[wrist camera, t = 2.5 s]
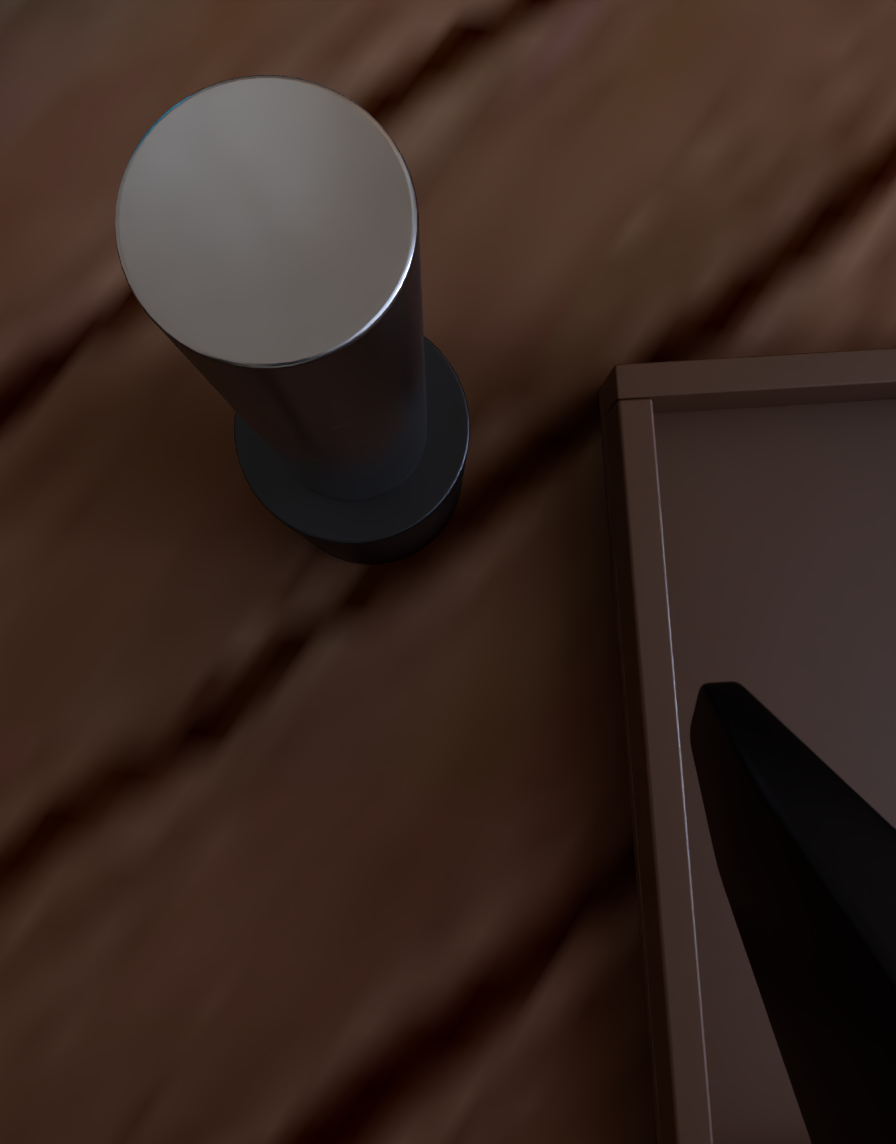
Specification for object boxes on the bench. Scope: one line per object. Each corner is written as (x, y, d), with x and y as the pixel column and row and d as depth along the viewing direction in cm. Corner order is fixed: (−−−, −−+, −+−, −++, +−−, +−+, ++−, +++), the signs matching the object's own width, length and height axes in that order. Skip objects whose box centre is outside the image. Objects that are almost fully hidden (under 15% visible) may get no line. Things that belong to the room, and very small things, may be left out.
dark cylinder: (467, 558, 21) (522, 439, 8) (287, 569, 21) (32, 469, 8) (455, 381, 21) (488, -22, 8) (277, 392, 21) (16, 1, 8)
